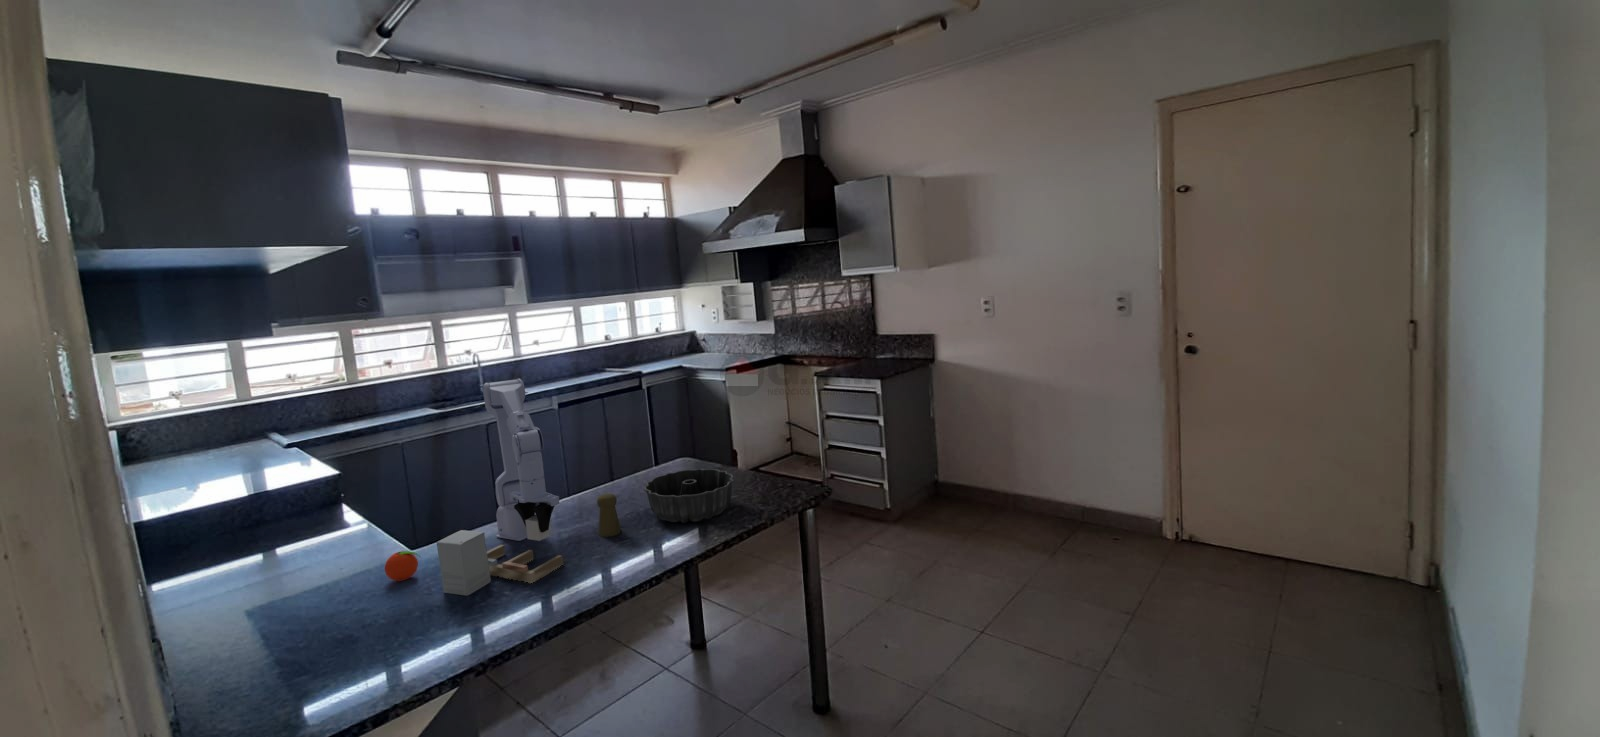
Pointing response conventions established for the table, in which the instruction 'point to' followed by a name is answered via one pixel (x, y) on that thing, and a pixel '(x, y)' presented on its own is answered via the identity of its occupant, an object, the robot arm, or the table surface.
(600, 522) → the cork
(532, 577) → the socket board
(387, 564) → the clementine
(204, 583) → the table surface
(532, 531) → the plug
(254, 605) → the table surface
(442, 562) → the supplement box
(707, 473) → the bundt pan
